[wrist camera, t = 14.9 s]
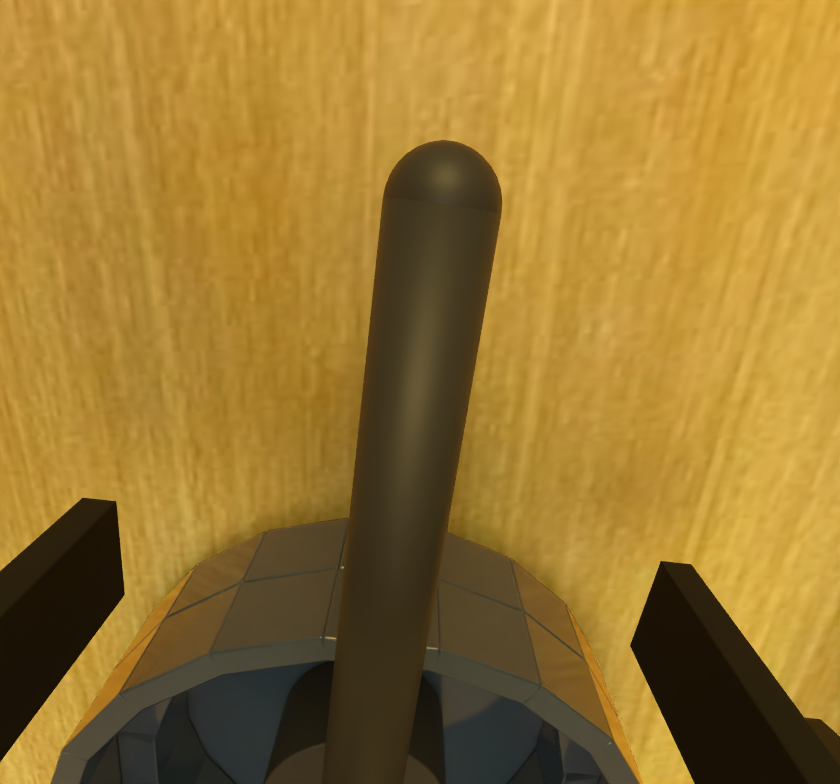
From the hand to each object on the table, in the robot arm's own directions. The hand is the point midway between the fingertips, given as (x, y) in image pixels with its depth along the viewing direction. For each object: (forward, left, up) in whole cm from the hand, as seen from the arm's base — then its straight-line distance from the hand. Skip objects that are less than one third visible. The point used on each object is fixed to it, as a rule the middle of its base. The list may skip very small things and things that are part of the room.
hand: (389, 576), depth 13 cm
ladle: (+3, 0, -5) cm, 6 cm away
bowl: (+11, 0, -6) cm, 12 cm away
